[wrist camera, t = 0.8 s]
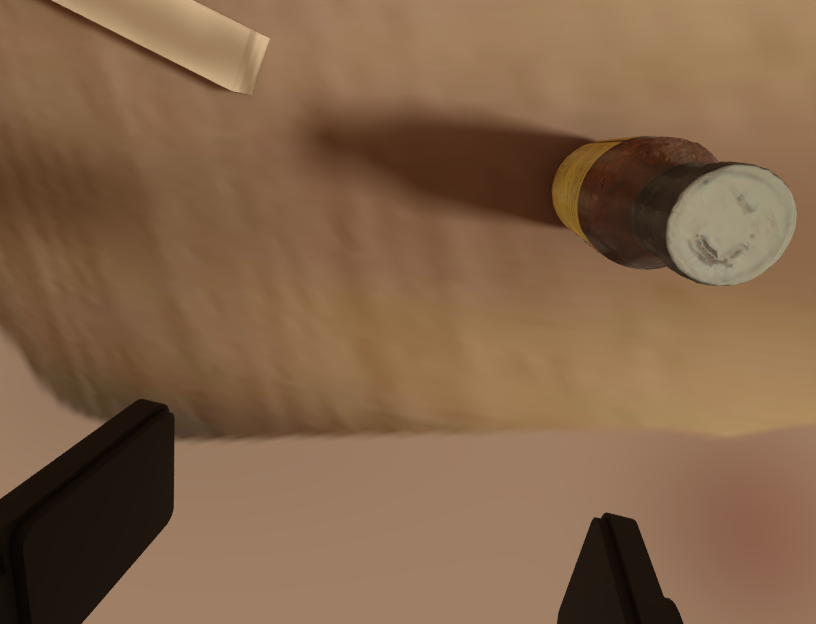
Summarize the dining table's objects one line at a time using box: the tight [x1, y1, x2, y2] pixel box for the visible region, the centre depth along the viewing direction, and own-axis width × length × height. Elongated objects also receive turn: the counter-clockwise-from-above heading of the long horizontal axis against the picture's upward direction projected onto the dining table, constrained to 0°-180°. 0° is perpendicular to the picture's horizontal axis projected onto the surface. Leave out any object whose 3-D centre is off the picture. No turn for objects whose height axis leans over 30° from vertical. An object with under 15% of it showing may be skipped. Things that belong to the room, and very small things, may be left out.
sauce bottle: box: [552, 136, 797, 286], centre depth 26 cm, size 6×6×20 cm
